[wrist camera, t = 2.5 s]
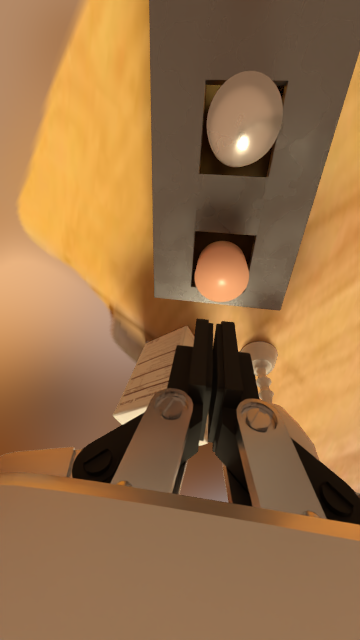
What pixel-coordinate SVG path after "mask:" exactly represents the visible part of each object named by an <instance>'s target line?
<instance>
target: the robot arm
mask: <svg viewBox="0 0 360 640" xmlns="http://www.w3.org/2000/svg"><path fill="white" fill-rule="evenodd" d="M207 416H208V442H212V443H213V452H215V455H216V456H218V458H219V459H220V460H221V461H222V462H223V473H224V479H225V485H226V491H227V497H228V503H227V502H221V501H215V500H209V499H202V498H196V497H190V496H184V495H179V493H180V489H181V485H182V481H183V477H184V473H185V469H186V465H187V460H188V459H189V458H191V457H192V456H193V455H194V454H196V453H197V452H198V446H199V441H204V435H205V429H206V423H207ZM0 640H360V494H359V493H356V492H354V490H353V489H352V488H351V487H350V486H349V485H348V484H347V483H346V482H344V481H343V480H342V479H341V478H339V477H338V476H337V475H336V474H335V473H333V472H332V471H331V470H330V469H329V468H327V467H326V466H325V465H324V464H323V463H321V462H320V461H319V460H318V459H316V458H315V457H314V456H313V455H312V454H310V453H309V452H308V451H307V450H306V449H304V448H303V447H302V446H301V445H300V444H298V443H297V442H296V441H295V440H294V439H292V438H291V437H290V435H289V433H288V431H287V428H286V426H285V424H284V422H283V419H282V417H281V415H280V414H279V412H278V411H277V410H276V409H275V408H274V407H273V406H272V405H270V404H269V403H267V402H265V401H263V400H260V399H259V394H258V389H257V384H256V379H255V374H254V369H253V364H252V359H251V355H250V353H245V352H238V347H237V339H236V332H235V324H234V322H225V321H222V322H221V324H217V325H216V331H215V338H214V345H213V323H209V320H205V319H197V321H196V329H195V337H194V344H193V347H192V346H183V345H177V346H176V350H175V355H174V359H173V364H172V368H171V372H170V377H169V381H168V386H167V389H163V390H161V391H159V392H157V393H156V394H155V395H154V396H153V397H152V399H151V400H150V402H149V404H148V407H147V409H146V411H145V412H144V413H142V414H140V415H139V416H137V417H135V418H133V419H132V420H130V421H128V422H127V423H125V424H123V425H121V426H120V427H118V428H116V429H114V430H113V431H111V432H109V433H107V434H106V435H104V436H102V437H101V438H99V439H97V440H95V441H94V442H92V443H90V444H89V445H87V446H86V447H85V448H83V449H79V450H75V448H74V447H66V448H54V449H42V450H31V451H20V452H12V453H8V454H4V455H3V456H1V457H0Z"/></svg>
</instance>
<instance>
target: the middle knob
mask: <svg viewBox="0 0 360 640" xmlns="http://www.w3.org/2000/svg"><path fill="white" fill-rule="evenodd" d="M282 117H283V105H282V99H281V95H280V92H279V90H278V88H277V86H276V85H275V83H274V82H273V81H272V80H271V79H270V78H269V77H268V76H266V75H265V74H263V73H260V72H257V71H244V72H241V73H238V74H236V75H234V76H232V77H231V78H229V79H228V80H227V81H226V82H225V83H224V84H223V85H222V86H221V87H220V88H219V90H218V91H217V93H216V94H215V96H214V98H213V100H212V102H211V105H210V108H209V111H208V116H207V135H208V140H209V143H210V146H211V149H212V151H213V153H214V155H215V156H216V158H217V159H218V160H219V161H220V162H222V163H223V164H225V165H227V166H230V167H242V166H245V165H249V164H251V163H253V162H256V161H257V160H259V159H260V158H261V157H263V156H264V155H265V154H266V153H267V152H268V151H269V149H270V148H271V147H272V145H273V144H274V142H275V140H276V138H277V136H278V133H279V131H280V127H281V124H282Z"/></svg>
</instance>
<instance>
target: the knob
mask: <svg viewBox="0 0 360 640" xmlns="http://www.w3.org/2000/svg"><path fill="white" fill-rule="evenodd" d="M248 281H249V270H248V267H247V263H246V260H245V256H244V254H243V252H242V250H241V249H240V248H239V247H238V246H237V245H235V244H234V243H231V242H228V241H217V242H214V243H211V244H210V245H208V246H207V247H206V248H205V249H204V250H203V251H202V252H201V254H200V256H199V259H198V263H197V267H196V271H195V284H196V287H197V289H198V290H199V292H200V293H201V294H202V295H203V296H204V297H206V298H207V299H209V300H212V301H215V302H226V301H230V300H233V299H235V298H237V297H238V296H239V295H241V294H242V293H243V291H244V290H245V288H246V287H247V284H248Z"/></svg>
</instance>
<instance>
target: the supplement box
mask: <svg viewBox="0 0 360 640" xmlns="http://www.w3.org/2000/svg"><path fill="white" fill-rule="evenodd" d="M193 344H194V336H193V334H192V332H191V331H190V329H189V327H188V326H184V327H182V328H180V329H177V330H175V331H173V332H170V333H168V334H166V335H164V336H161V337H159V338H157V339H154V340H152V341H150V342H148V343H146V344H145V347H144V349H143V351H142V353H141V355H140V357H139V359H138V362H137V364H136V366H135V368H134V371H133V373H132V375H131V377H130V379H129V382H128V384H127V386H126V388H125V391H124V393H123V395H122V397H121V399H120V402H119V404H118V406H117V408H116V410H115V412H114V414H113V416H114V418H115V419H116V420H117V421H118V422H119V423H121V424H122V425H123V424H125V423H127V422H128V421H130V420H132V419H133V418H135V417H137V416H139V415H140V414H142V413H144V412H145V411H146V409H147V407H148V404H149V402H150V400H151V399H152V397H153V396H154V395H155V394H156V393H157V392H159V391H161V390H163V389H167V386H168V381H169V377H170V372H171V368H172V364H173V359H174V355H175V350H176V346H177V345H183V346H192V347H193ZM207 443H208V416H207V423H206V429H205V435H204V441H199V446H200V445H204V444H207Z"/></svg>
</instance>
